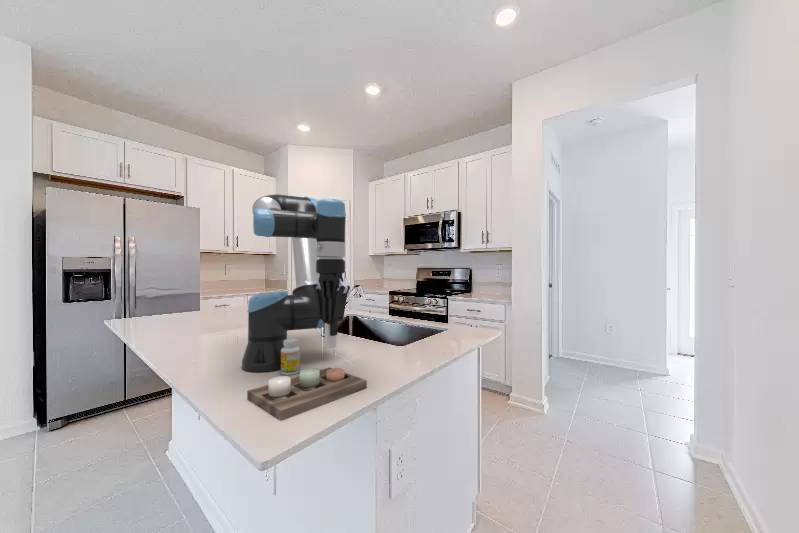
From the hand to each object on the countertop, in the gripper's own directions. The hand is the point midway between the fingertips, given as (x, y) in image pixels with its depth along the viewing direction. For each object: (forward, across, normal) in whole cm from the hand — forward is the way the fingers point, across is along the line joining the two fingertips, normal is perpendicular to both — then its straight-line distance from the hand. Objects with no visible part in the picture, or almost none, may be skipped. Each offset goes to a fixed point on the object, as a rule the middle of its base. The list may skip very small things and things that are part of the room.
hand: (330, 347), depth 86 cm
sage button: (+8, 0, -6) cm, 10 cm away
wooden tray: (+10, 0, -6) cm, 12 cm away
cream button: (+8, 0, -14) cm, 16 cm away
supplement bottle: (+11, -18, -1) cm, 21 cm away
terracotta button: (+10, 0, +2) cm, 10 cm away
